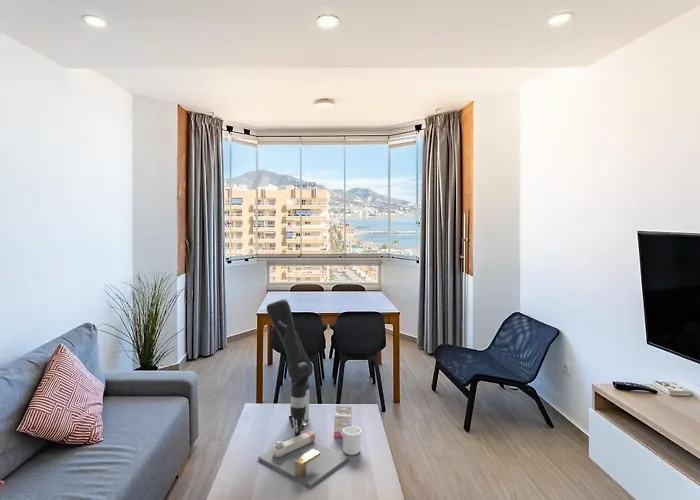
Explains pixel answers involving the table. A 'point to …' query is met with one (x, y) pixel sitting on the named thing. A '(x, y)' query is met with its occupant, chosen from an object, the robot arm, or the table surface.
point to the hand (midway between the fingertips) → (297, 438)
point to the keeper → (304, 462)
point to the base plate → (314, 469)
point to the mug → (351, 440)
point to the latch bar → (292, 444)
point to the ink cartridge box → (342, 420)
